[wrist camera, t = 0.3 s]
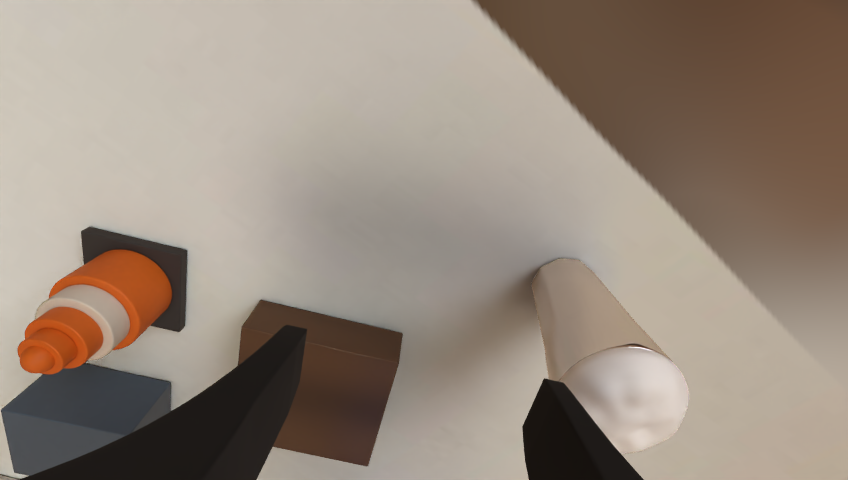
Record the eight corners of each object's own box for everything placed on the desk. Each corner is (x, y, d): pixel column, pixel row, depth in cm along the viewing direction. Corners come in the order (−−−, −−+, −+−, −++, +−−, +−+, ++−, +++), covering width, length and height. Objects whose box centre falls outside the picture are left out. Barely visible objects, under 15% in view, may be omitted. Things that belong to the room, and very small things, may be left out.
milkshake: (488, 278, 23) (520, 439, 13) (585, 229, 21) (692, 371, 12) (528, 339, 24) (580, 521, 15) (621, 297, 23) (739, 469, 14)
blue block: (170, 438, 28) (130, 496, 25) (69, 417, 28) (13, 473, 24) (171, 382, 26) (128, 436, 23) (61, 358, 26) (-1, 409, 22)
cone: (185, 326, 25) (96, 425, 18) (95, 305, 24) (-28, 400, 18) (187, 250, 23) (87, 332, 16) (89, 226, 22) (-53, 301, 16)
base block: (373, 431, 28) (367, 467, 25) (248, 404, 27) (230, 438, 25) (402, 332, 24) (398, 363, 22) (260, 299, 24) (241, 327, 21)
